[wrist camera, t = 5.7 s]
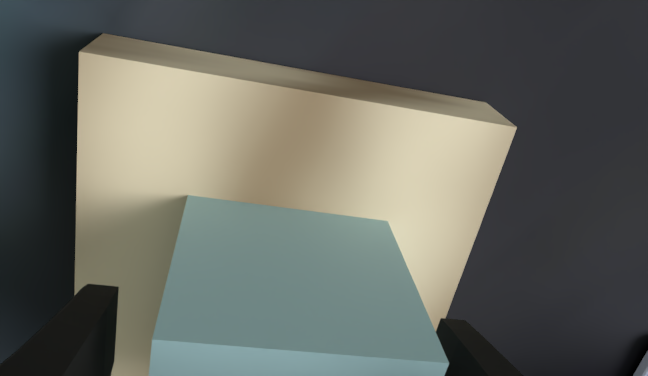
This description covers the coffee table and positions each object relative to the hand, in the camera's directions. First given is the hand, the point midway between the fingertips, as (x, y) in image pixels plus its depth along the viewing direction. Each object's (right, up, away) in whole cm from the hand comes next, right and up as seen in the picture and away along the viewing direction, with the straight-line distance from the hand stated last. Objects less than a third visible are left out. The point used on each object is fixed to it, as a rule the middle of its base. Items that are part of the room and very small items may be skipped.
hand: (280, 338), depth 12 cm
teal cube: (0, +1, +2) cm, 2 cm away
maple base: (-1, +2, +4) cm, 4 cm away
